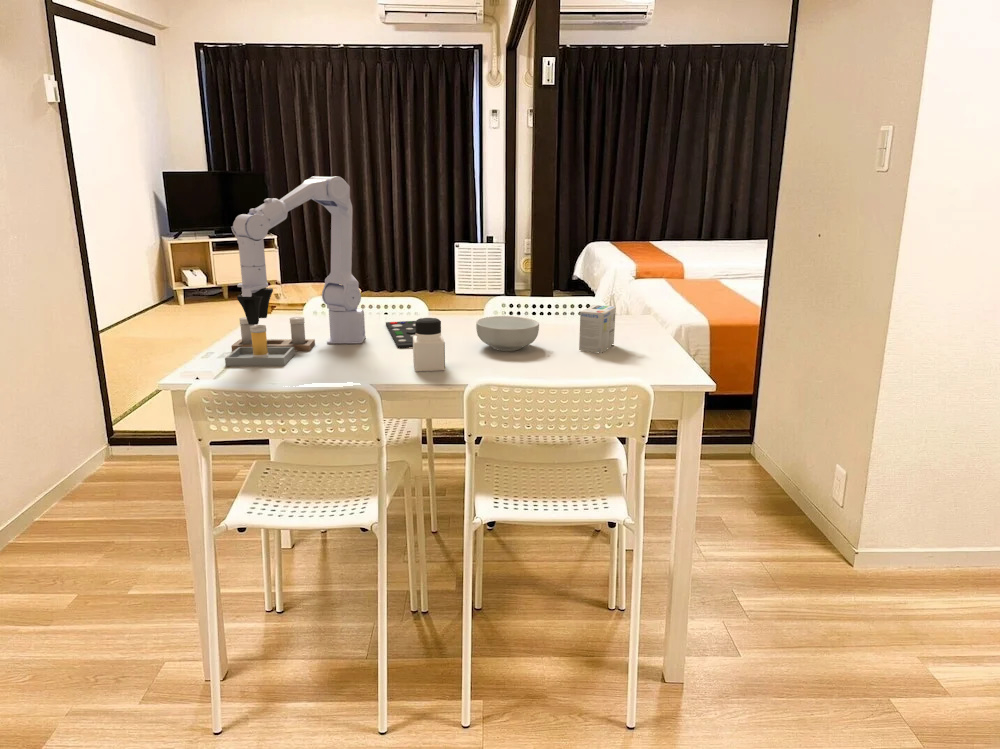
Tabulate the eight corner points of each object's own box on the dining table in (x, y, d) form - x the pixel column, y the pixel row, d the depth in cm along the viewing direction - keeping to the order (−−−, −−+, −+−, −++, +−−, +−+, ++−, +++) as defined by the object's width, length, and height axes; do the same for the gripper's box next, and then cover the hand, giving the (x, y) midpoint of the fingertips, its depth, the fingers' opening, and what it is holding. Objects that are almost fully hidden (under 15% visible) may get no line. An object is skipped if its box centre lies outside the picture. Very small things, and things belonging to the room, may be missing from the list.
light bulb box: (591, 342, 200) (593, 304, 197) (614, 345, 198) (616, 306, 195) (578, 351, 191) (579, 310, 188) (602, 353, 188) (604, 313, 185)
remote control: (422, 325, 223) (422, 318, 223) (439, 348, 195) (439, 341, 194) (385, 326, 220) (385, 320, 220) (397, 350, 192) (397, 343, 192)
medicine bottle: (445, 370, 171) (444, 321, 168) (414, 372, 170) (413, 322, 167) (442, 363, 178) (441, 315, 175) (413, 364, 177) (412, 316, 174)
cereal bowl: (509, 358, 183) (509, 331, 181) (463, 347, 194) (463, 321, 192) (551, 347, 195) (552, 321, 193) (505, 337, 206) (505, 313, 204)
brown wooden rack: (315, 344, 195) (314, 339, 195) (309, 351, 189) (309, 345, 188) (240, 344, 195) (239, 339, 194) (231, 351, 188) (231, 345, 187)
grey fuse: (307, 346, 194) (305, 316, 192) (304, 349, 190) (302, 319, 188) (293, 346, 194) (291, 316, 191) (290, 349, 190) (288, 319, 188)
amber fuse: (270, 356, 181) (267, 324, 179) (266, 359, 178) (263, 328, 176) (255, 356, 181) (252, 325, 179) (251, 360, 178) (248, 328, 175)
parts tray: (294, 354, 185) (294, 346, 185) (284, 365, 175) (283, 357, 174) (239, 354, 185) (238, 346, 184) (225, 365, 174) (224, 357, 174)
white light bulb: (258, 346, 193) (256, 317, 191) (254, 349, 190) (251, 319, 187) (244, 346, 193) (241, 316, 191) (240, 349, 190) (237, 319, 187)
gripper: (245, 261, 180) (250, 315, 184) (226, 269, 166) (232, 327, 170) (273, 261, 180) (278, 315, 184) (257, 269, 166) (262, 327, 170)
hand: (258, 321), depth 177 cm, fingers open, 7 cm apart
